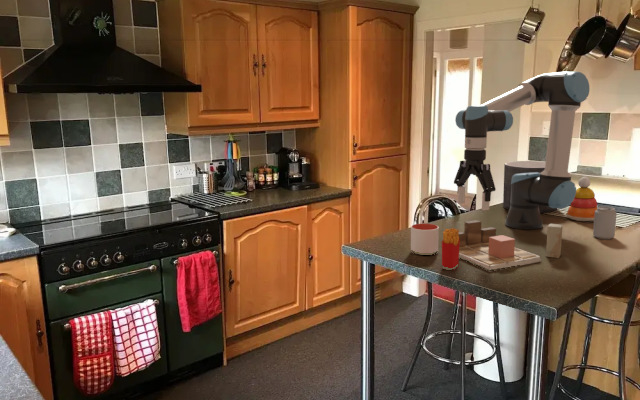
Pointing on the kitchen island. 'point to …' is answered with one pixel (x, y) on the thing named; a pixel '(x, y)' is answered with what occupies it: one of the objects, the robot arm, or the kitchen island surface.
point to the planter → (518, 168)
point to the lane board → (504, 264)
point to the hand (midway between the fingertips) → (472, 206)
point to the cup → (424, 238)
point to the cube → (501, 246)
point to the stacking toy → (583, 202)
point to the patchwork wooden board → (485, 240)
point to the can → (604, 223)
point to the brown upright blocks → (479, 239)
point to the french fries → (450, 248)
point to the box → (554, 240)
